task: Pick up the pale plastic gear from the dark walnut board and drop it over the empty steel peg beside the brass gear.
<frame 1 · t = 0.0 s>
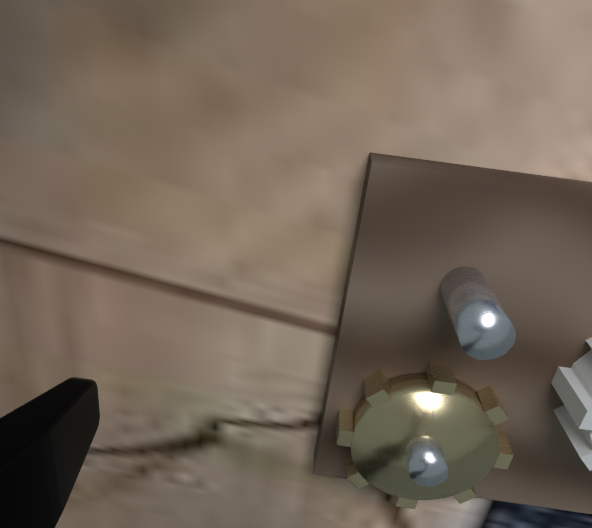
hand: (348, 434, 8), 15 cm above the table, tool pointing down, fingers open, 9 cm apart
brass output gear: (415, 407, 27), resting on gear board
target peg: (455, 271, 23), resting on gear board
gear board: (542, 355, 25), on the table
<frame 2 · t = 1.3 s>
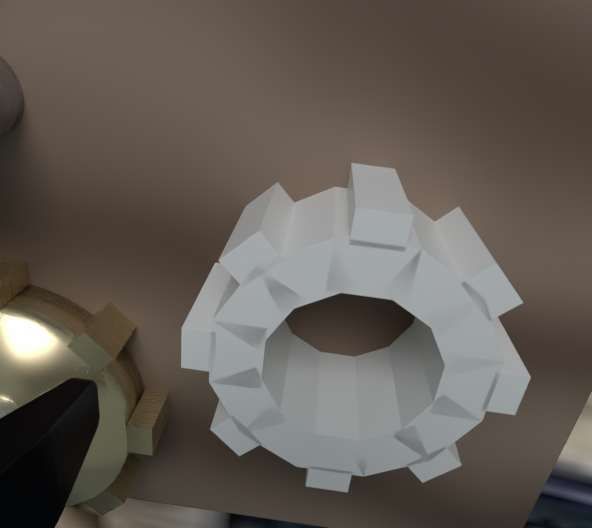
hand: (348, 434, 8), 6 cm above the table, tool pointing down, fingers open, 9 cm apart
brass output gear: (55, 354, 16), resting on gear board
pale gear: (348, 298, 13), point 1 cm above the table, touching gear board
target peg: (19, 83, 12), resting on gear board
gear board: (226, 255, 14), on the table
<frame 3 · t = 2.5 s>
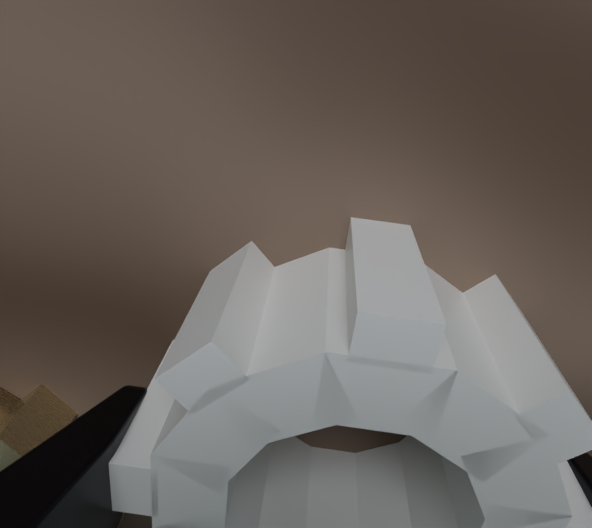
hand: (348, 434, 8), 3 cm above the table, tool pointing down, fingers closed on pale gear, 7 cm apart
pale gear: (346, 384, 10), point 2 cm above the table, touching gear board, gripper
gear board: (192, 319, 11), on the table
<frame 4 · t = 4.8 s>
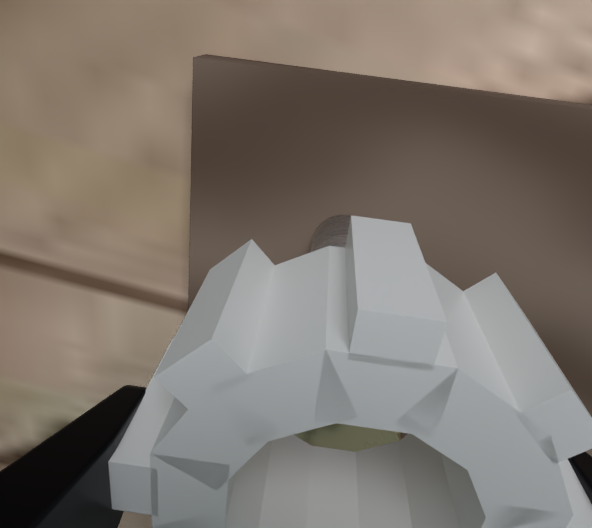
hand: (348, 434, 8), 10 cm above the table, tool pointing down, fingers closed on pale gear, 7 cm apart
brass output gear: (311, 409, 21), resting on gear board
pale gear: (346, 383, 10), point 8 cm above the table, touching gripper
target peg: (342, 226, 17), resting on gear board
gear board: (467, 341, 19), on the table
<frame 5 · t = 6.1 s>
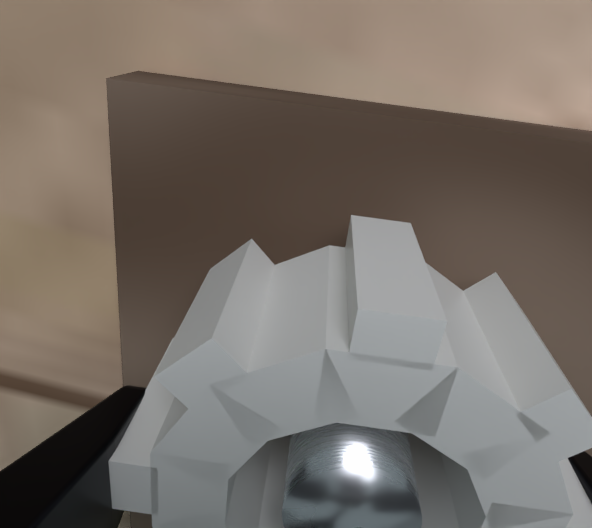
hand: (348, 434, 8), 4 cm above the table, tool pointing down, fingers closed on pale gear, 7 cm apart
pale gear: (346, 382, 10), point 3 cm above the table, touching gripper
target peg: (345, 315, 12), resting on gear board
gear board: (517, 462, 14), on the table
when the fingers open (4 cm above the table, at t = 7.0 s): pale gear stays where it is, resting on gear board.
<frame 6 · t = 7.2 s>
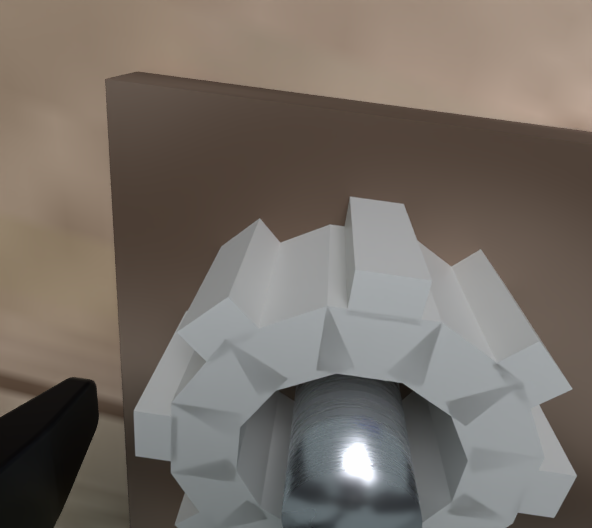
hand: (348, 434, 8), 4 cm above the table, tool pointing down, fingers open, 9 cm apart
pale gear: (345, 353, 11), point 1 cm above the table, touching gear board
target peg: (345, 316, 12), resting on gear board
gear board: (517, 464, 14), on the table
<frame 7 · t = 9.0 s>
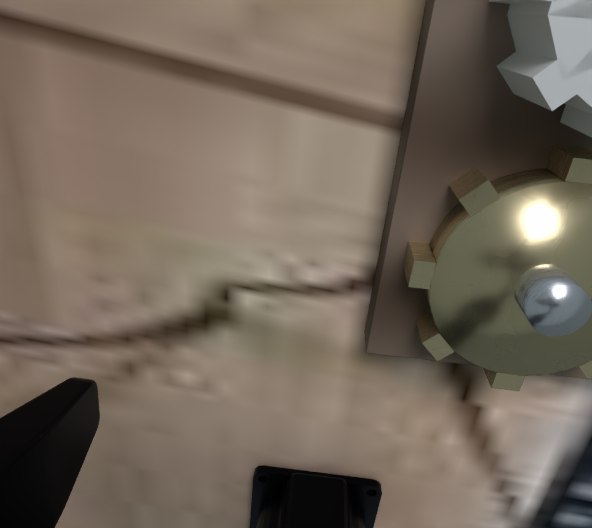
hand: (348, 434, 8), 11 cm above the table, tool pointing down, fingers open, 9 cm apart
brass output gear: (513, 249, 19), resting on gear board
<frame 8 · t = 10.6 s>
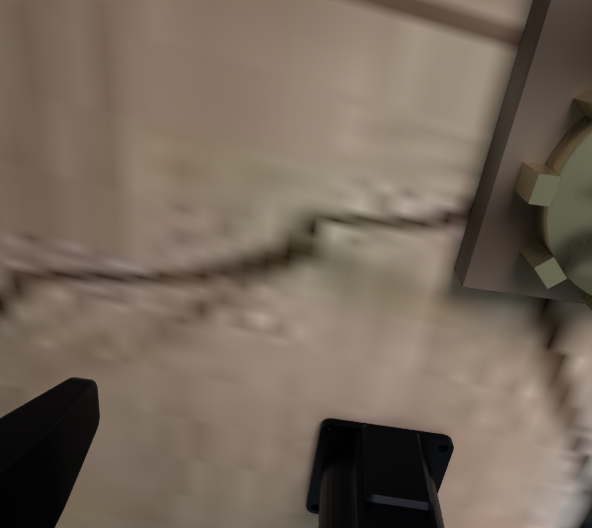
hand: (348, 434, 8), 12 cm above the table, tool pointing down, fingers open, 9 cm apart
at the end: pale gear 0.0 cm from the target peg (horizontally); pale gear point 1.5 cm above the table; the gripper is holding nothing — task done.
